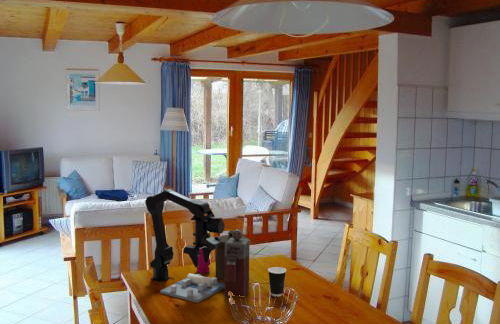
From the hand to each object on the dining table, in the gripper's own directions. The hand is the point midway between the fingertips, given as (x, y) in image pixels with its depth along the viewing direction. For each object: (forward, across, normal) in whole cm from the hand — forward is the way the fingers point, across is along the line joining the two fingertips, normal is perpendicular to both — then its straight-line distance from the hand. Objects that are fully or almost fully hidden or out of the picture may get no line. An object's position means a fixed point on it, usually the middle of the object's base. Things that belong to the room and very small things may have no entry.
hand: (201, 265), depth 224 cm
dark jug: (+10, +1, -18) cm, 21 cm away
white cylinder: (+7, -1, 0) cm, 7 cm away
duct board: (+10, -5, 0) cm, 11 cm away
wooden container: (+10, +20, -3) cm, 23 cm away
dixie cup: (+10, +10, -33) cm, 36 cm away
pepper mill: (+10, +18, +12) cm, 24 cm away
